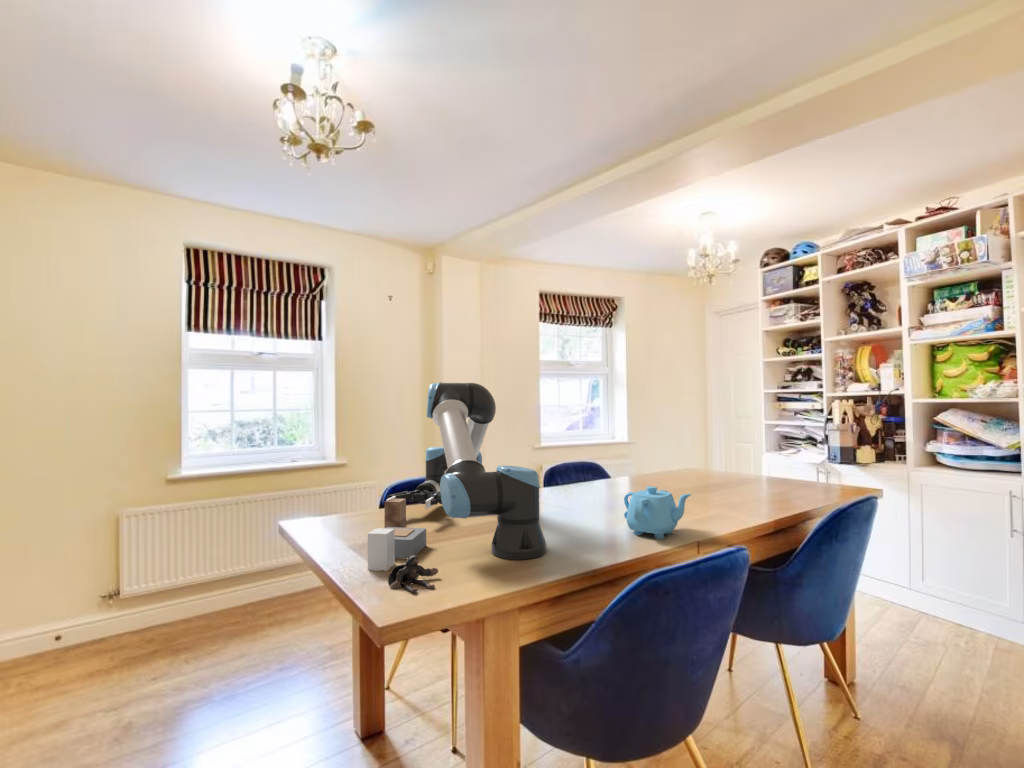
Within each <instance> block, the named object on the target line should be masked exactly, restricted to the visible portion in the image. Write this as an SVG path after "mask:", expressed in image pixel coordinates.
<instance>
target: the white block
mask: <svg viewBox="0 0 1024 768" xmlns="http://www.w3.org/2000/svg"><path fill="white" fill-rule="evenodd" d="M395 559H396V558H395V529H385V528H384V527H383V528H381V527H379V528H377V527H376V528H374V529H373V530H371V531H369V532H367V570H368V571H380V570H384V572H386V571H388V570H389V568H390V567H391V566H392V567H393V566H394V565H395V562H396V561H395ZM392 567H391V568H392ZM391 568H390V569H391Z"/></svg>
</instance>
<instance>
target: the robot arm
mask: <svg viewBox="0 0 1024 768" xmlns="http://www.w3.org/2000/svg"><path fill="white" fill-rule="evenodd" d="M426 402H427V404H426V417H427V418H429V419H432V420H433V422H434V423H435V424H436V425H437V426H438V427H439V431H440V435H441V440H442V441H441V442H442V446H432V447H428V448H426V449H425V450H426V451H425V459H424V460H425V481H424V482H422V483H420V484H419V485H418V486H416V488H415V490H412V491H411V490H410V491H408V490H404V491H401V492H397V493H392V494H388V495H387V496H386V497H387V498H386V500H385V501H387V500H389V499H391V498H393V499H406V502H409V503H412V502H418V503H419V504H421V505H424V506H425V507H424V508H425V510H428V509H430V508H431V507H432V506H436V505H438V504H439V505H442V508H443V510H444V512H445V514H446V515H447V516H448V517H450V518H452V519H467V518H478V517H487V516H488V517H489V516H497V524H496V528H495V531H494V534H493V538H492V541H491V548H490V549H491V554H492V555H493V556H495V557H498V558H501V559H508V560H530V559H536V558H540V557H542V556H543V555H545V554H546V553H547V543H546V539H545V536H544V532H543V530H542V527H541V523H540V488H541V486H540V477H539V474H538V471H536V470H534V469H532V468H529V467H523V466H522V467H521V466H516V465H515V466H514V465H497V467H496V469H495V470H496V471H486V469H485V466H484V465H483V464H482V463H483V455H482V453H481V448H482V446H483V442H484V438H485V436H486V433H487V429H488V428H489V424H490V423H492V422H493V420H494V418H495V416H496V411H497V410H496V409H497V406H496V401H495V399H494V396H493V394H492V393H491V392H490V390H488V389H487V388H486V387H485V386H484V385H482V384H479V383H475V382H437V383H436V382H435V383H433V382H432V383H431V384H429V386H428V390H427V401H426ZM467 418H468V420H467Z"/></svg>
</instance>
